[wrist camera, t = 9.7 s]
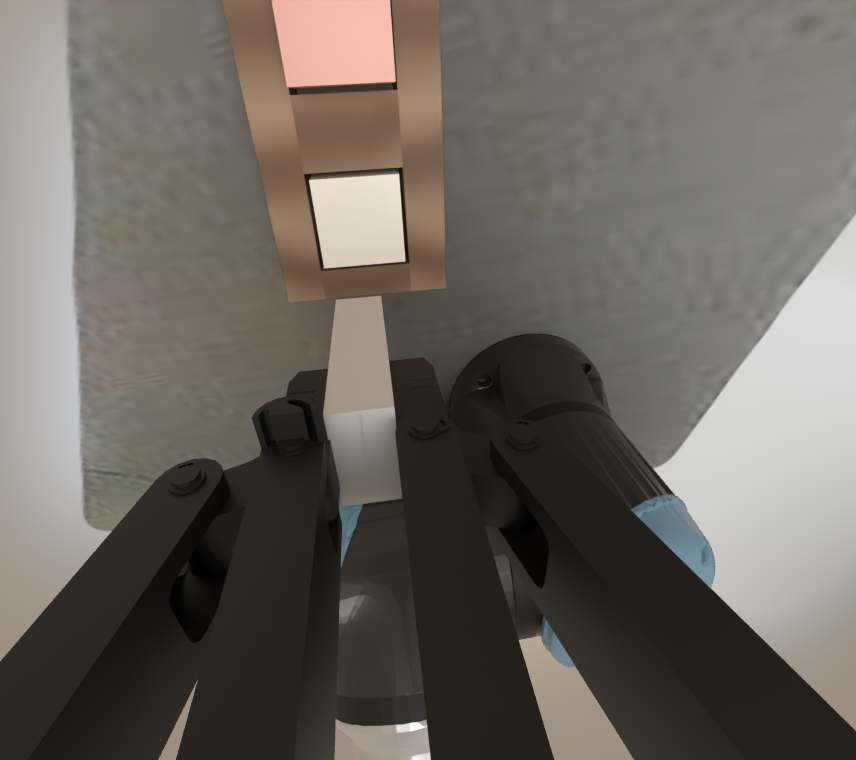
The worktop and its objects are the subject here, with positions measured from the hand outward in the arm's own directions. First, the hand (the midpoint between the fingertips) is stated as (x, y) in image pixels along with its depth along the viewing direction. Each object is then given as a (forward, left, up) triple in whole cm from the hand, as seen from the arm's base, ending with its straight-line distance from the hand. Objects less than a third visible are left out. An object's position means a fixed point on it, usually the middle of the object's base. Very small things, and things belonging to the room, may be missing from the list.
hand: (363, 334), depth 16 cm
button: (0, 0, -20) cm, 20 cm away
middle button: (+10, 0, -17) cm, 20 cm away
